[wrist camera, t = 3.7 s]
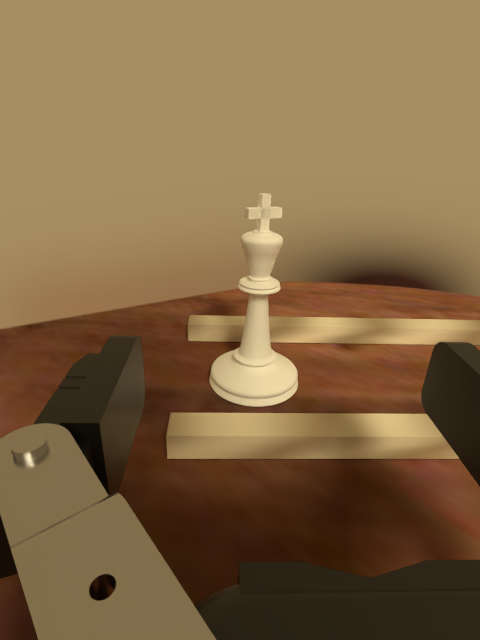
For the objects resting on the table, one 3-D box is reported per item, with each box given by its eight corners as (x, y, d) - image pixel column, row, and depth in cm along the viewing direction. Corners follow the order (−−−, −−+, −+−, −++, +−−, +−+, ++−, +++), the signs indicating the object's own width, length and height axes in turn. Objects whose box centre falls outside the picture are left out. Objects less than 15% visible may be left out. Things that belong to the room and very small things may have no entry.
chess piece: (198, 365, 23) (196, 187, 19) (273, 352, 25) (286, 187, 21) (227, 416, 19) (233, 202, 15) (314, 396, 21) (342, 200, 17)
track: (165, 472, 16) (162, 422, 15) (190, 326, 28) (190, 293, 27) (752, 471, 17) (788, 425, 16) (530, 331, 29) (542, 300, 28)
